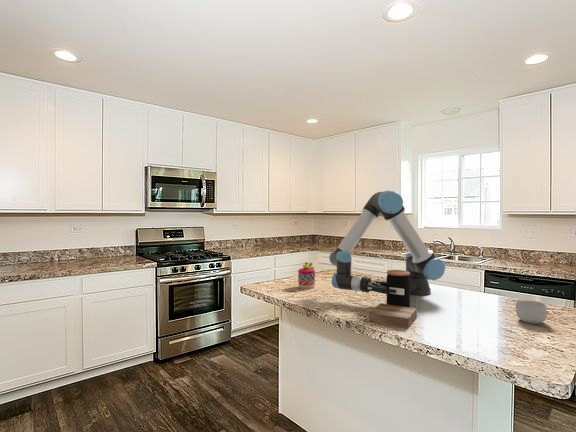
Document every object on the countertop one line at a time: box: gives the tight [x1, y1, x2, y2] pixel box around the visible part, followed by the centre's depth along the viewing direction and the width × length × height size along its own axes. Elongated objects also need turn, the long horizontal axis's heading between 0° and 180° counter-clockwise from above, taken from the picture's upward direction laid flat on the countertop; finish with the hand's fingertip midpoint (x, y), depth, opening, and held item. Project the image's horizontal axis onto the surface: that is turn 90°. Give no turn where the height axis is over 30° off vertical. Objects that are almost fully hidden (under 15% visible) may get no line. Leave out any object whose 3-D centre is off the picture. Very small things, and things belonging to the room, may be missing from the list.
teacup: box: [515, 299, 548, 325], centre depth 143 cm, size 14×11×8 cm
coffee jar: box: [386, 269, 411, 308], centre depth 159 cm, size 11×11×18 cm
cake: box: [297, 261, 316, 290], centre depth 205 cm, size 10×11×15 cm
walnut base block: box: [368, 303, 418, 329], centre depth 144 cm, size 16×16×4 cm
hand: (407, 289), depth 157 cm, fingers closed on coffee jar, 10 cm apart
